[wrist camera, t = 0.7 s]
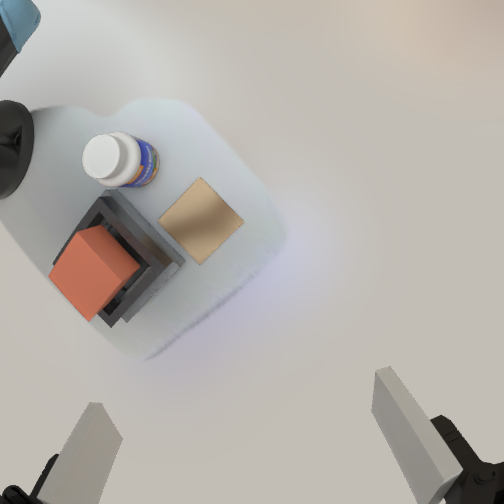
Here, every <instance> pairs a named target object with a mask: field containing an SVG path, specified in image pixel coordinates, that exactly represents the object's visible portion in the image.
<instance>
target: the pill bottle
mask: <svg viewBox="0 0 504 504" xmlns="http://www.w3.org/2000/svg"><path fill="white" fill-rule="evenodd" d="M82 164H83V168H84V170H85V172H86V173H87V174H88V175H89V176H90V177H92V178H95V179H96V180H97V181H98V182H99V183H101V184H102V185H104V186H108V187H141V186H144V185H146V184H148V183H149V182H150V181H151V180H152V179H153V178H154V177H155V175H156V173H157V171H158V168H159V157H158V154H157V152H156V150H155V149H154V148H153V147H152V146H151V145H150V144H148V143H147V142H144V141H142V140H140V139H138V138H136V137H133V136H131V135H129V134H126V133H123V132H112V133H109V134H101V135H97V136H95V137H94V138H92V139H91V140H90V141H89V142H88V143H87V145H86V147H85V149H84V151H83V155H82Z"/></svg>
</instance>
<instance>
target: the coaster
mask: <svg viewBox="0 0 504 504" xmlns="http://www.w3.org/2000/svg"><path fill="white" fill-rule="evenodd" d="M157 222H158V223H159V224H160V225H161V226H162V227H163V228H164V229H165V230H166V231H167V232H168V233H169V234H170V235H171V236H172V237H173V238H174V239H175V240H176V241H177V242H178V243H179V244H180V245H181V246H182V247H183V248H184V249H185V250H186V251H187V252H188V253H189V254H190V255H191V256H192V257H193V258H194V259H195V260H196V261H197V262H198V263H199V264H201V263H202V262H203V261H204V260H205V259H206V258H207V257H208V256H209V255H211V254H212V253H213V252H214V251H215V250H216V249H217V248H218V247H219V246H220V245H221V244H222V243H223V242H224V241H225V240H226V239H227V238H228V237H229V236H230V235H231V234H232V233H233V232H234V231H235V230H236V229H237V228H238V227H240V226H241V225H242V224H243V223H244V221H243V220H242V219H241V218H240V217H239V216H238V215H237V214H236V213H235V212H234V211H233V210H232V209H231V208H230V207H229V206H228V205H227V204H226V203H225V202H224V201H223V200H222V199H221V198H220V197H219V196H218V195H217V194H216V193H215V192H214V190H213V189H212V188H211V187H210V186H209V185H208V184H207V183H206V182H205V181H204V180H203V179H202V178H201V177H199V178H198V179H197V180H196V181H195V182H194V183H193V184H192V185H191V186H190V187H189V188H188V189H187V191H186V192H185V193H184V194H183V195H182V196H181V197H180V198H179V199H178V200H177V201H176V202H175V203H174V204H173V205H172V206H171V207H170V208H169V209H168V210H167V211H166V213H165V214H164V215H163V216H162V217H161V218H160V219H159V220H158V221H157Z"/></svg>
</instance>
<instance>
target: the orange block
mask: <svg viewBox="0 0 504 504" xmlns="http://www.w3.org/2000/svg"><path fill="white" fill-rule="evenodd" d="M140 267H141V266H140V265H139V264H138V263H137V262H136V261H135V260H134V259H133V258H132V256H131V255H130V254H129V253H128V252H127V251H126V250H125V249H124V248H123V247H122V246H121V245H120V244H119V243H118V242H117V241H116V239H115V238H114V237H113V236H112V235H111V234H110V233H109V232H108V231H107V230H106V228H105V227H104V226H103V225H98V226H95V227H92V228H88V229H85V230H82V231H78V232H77V233H76V234H75V236H74V237H73V238H72V240H71V241H70V243H69V244H68V246H67V247H66V249H65V250H64V252H63V253H62V255H61V256H60V258H59V260H58V261H57V263H56V264H55V266H54V268H53V269H52V271H51V272H50V274H49V276H48V277H49V278H50V279H51V280H52V282H53V283H54V284H55V285H56V286H57V288H58V289H59V290H60V291H61V292H62V293H63V295H64V296H65V297H66V298H67V299H68V300H69V301H70V302H71V303H72V305H73V306H74V307H75V308H76V309H77V310H78V311H79V312H80V313H81V314H82V315H83V316H84V317H85V318H86V320H87V321H88V322H89V321H90V320H91V319H92V318H93V317H94V316H95V315H96V314H97V313H99V312H100V311H101V310H102V309H103V308H104V307H105V306H106V305H107V304H108V303H109V302H110V301H111V300H112V299H113V298H114V296H115V295H116V294H117V293H118V292H119V291H120V289H121V288H122V287H123V286H124V285H125V284H126V282H127V281H128V280H129V279H130V278H131V277H132V276H133V274H134V273H135V272H136V271H137V270H138V269H139V268H140Z"/></svg>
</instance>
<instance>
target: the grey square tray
mask: <svg viewBox="0 0 504 504" xmlns="http://www.w3.org/2000/svg"><path fill="white" fill-rule="evenodd" d="M98 225H103V226H104V227H105V228H106V230H107V231H108V230H109V228H110V227H111V226H113V227H114V228H115V229H116V230H117V231H118V232H119V234H120V235H121V236H122V237H123V238H124V239H125V240H126V241H127V242H128V243H129V244H130V245H131V246H132V247H133V248H134V250H135V251H136V252H137V253H138V254H139V255H140V256H141V257H142V258H143V259H144V260H145V261H146V262H147V263H148V264H149V265H150V266H149V267H148V268H147V269H146V270H145V271H144V272H143V274H142V275H141V276H140V277H139V278H138V279H137V280H136V281H135V282H134V284H133V285H132V286H131V287H130V288H129V289H128V290H127V291H126V290H125V289H124V288H123V287H122V288H121V289H120V291H119V292H118V293H117V294H116V295H115V296H114V298H113V299H112V300H111V301H110V302H109V303H108V304H107V305H106V306H105V307H104V308H103V309H102V310H101V311H100V312H99V313H97V314H98V315H99V316H100V317H101V318H102V319H103V320H104V321H105V322H106V323H107V324H108V325H109V326H110V327H111V328H112V326H113V325H114V324H115V323H116V322H117V321H118V320H119V319H120V317H122V318H123V319H124V320H125V321H126V322H128V321H129V320H130V319H131V318H132V317H133V316H134V315H135V314H136V313H137V312H138V310H139V309H140V308H141V307H142V306H143V305H144V304H145V303H146V302H147V301H148V300H149V299H150V298H151V297H152V296H153V295H154V294H155V293H156V292H157V291H158V289H159V288H160V287H161V286H162V285H163V284H164V283H165V282H166V281H167V280H168V279H169V278H170V277H171V276H172V275H173V274H174V273H175V272H176V271H177V270H178V269H179V268H180V267H181V266H182V264H183V263H184V262H185V260H184V259H183V258H182V257H181V256H180V255H179V254H178V253H177V252H176V251H175V250H174V249H173V248H172V247H171V246H170V245H169V244H168V243H167V242H166V241H165V239H164V238H163V237H162V236H161V235H160V234H159V233H158V232H157V231H156V230H155V229H154V228H153V227H152V226H151V225H150V224H149V223H148V222H147V221H146V220H145V219H144V218H143V217H142V216H141V215H140V213H139V212H138V211H137V210H136V209H135V208H134V207H133V206H132V205H131V204H130V203H129V202H128V201H127V200H126V198H125V197H124V196H123V195H122V194H121V193H120V192H119V191H118V190H117V189H108V190H105V191H104V193H103V194H102V195H101V196H100V197H98V199H97V200H96V201H95V203H94V204H93V205H92V207H91V208H90V209H89V211H88V212H87V213H86V215H85V216H84V217H83V219H82V220H81V222H80V223H79V224H78V226H77V227H76V229H75V230H74V231H73V233H72V234H71V236H70V237H69V239H68V240H67V242H66V243H65V245H64V246H63V248H62V249H61V251H60V253H59V254H58V256H57V257H56V259H55V260H54V262H53V265H54V266H55V264H56V263H57V261H58V260H59V258H60V256H61V255H62V253H63V252H64V250H65V249H66V247H67V246H68V244H69V243H70V241H71V240H72V238H73V237H74V236H75V234H76V233H77V232H78V231H82V230H85V229H88V228H92V227H95V226H98Z"/></svg>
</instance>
